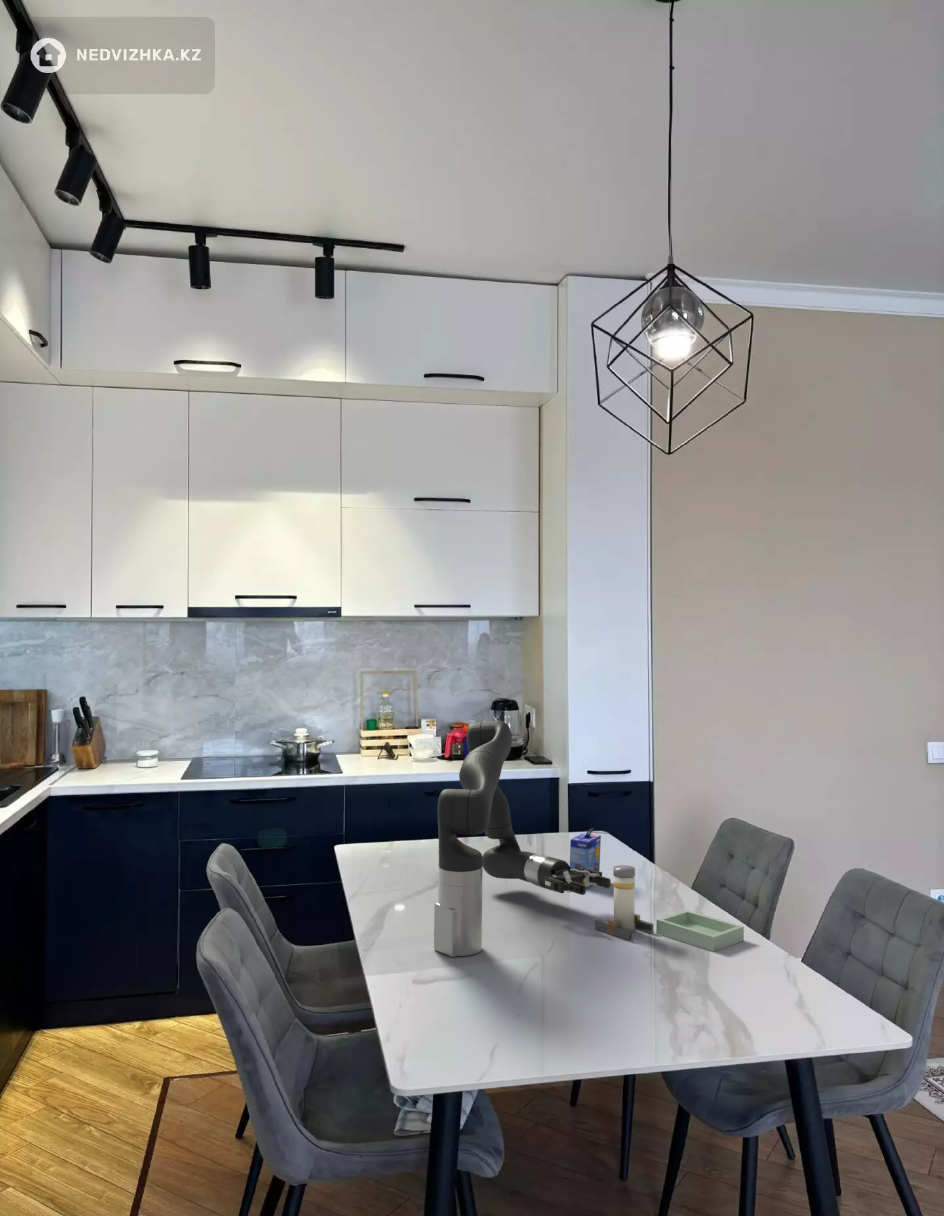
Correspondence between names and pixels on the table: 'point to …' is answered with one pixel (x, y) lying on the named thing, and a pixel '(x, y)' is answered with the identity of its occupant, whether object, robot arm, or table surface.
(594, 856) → the ink cartridge box
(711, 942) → the tray
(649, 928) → the clip rails
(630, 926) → the cylinder
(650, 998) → the table surface
